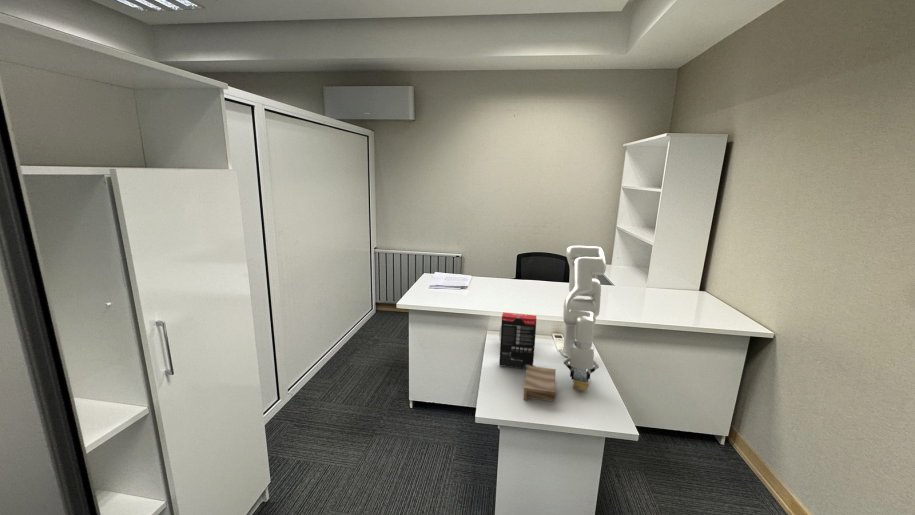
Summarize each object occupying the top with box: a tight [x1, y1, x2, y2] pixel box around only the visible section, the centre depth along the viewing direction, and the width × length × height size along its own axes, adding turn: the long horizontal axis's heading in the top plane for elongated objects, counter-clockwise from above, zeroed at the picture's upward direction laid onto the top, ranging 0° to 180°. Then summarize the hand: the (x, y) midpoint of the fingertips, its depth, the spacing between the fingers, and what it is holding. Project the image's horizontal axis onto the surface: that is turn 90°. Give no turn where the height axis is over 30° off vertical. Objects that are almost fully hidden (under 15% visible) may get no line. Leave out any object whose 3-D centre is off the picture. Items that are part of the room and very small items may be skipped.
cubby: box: [523, 365, 557, 402], centre depth 167 cm, size 20×13×6 cm, turn 165°
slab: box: [572, 368, 589, 392], centre depth 172 cm, size 16×6×4 cm, turn 165°
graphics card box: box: [498, 312, 537, 370], centre depth 187 cm, size 17×7×27 cm, turn 79°
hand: (579, 378), depth 172 cm, fingers closed on slab, 6 cm apart
